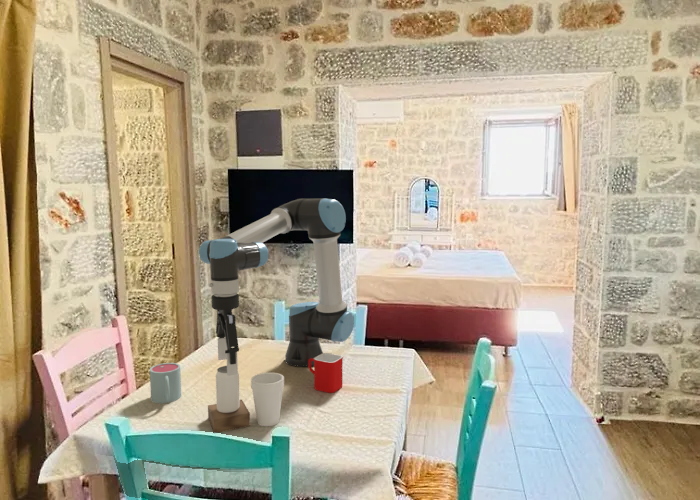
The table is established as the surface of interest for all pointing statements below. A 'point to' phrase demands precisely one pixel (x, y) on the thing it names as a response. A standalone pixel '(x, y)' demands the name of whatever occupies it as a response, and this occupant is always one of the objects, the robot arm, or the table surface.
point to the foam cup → (267, 397)
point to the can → (227, 391)
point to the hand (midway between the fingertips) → (227, 366)
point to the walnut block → (228, 418)
